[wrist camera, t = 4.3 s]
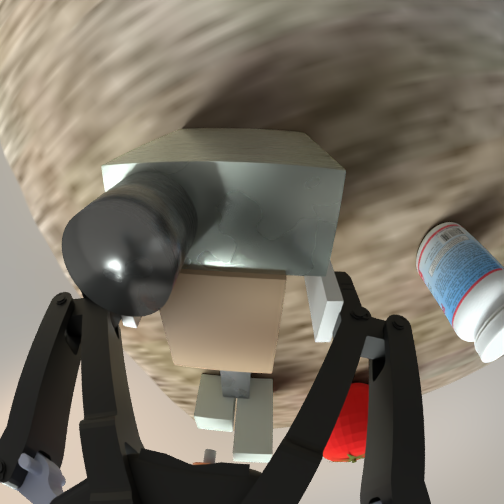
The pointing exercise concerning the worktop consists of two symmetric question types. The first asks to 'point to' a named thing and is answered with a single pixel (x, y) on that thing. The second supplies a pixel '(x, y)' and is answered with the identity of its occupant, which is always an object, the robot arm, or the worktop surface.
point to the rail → (205, 217)
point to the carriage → (224, 320)
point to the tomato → (350, 427)
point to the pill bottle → (465, 286)
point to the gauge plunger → (208, 457)
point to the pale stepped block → (239, 416)
